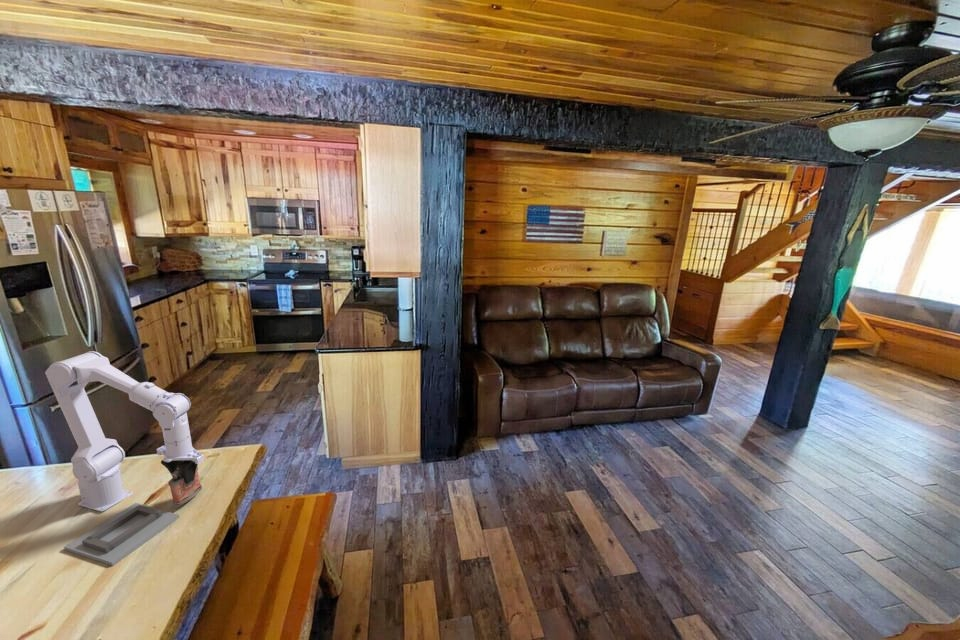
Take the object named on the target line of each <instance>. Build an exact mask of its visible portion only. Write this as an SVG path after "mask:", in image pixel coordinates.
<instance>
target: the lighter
mask: <svg viewBox="0 0 960 640" xmlns="http://www.w3.org/2000/svg"><path fill="white" fill-rule="evenodd" d="M171 477H172V478H171V479H169V481H168V486H169V487H170V492H171V497H172V505H173V506H174V507H180V506H182V505H184V504H185V503H187V502H188V501H190V500H191V499H192V498H194V497H195V496H196V495H197V494H198V493H200V491H201V490H202V489H203V486H202V484H201V480H200V475H199V467H198V466H197V468H196V472H195V478H194V480H193V481H191V482H190V483H188V484H186V483H185V481H184V478H183V475H182V473H181V471H180V470H179V468H177V469H176V471H175V472H173V473H172V475H171Z"/></svg>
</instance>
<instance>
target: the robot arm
mask: <svg viewBox="0 0 960 640" xmlns="http://www.w3.org/2000/svg"><path fill="white" fill-rule="evenodd" d="M44 374H45V375H46V378H47V381H48V383H49V385H50V387H51V389H52V392H53V394H54V396H55V398H56V401H57V403H58V405H59V407H60V409H61V412H62V414H63V416H64V418H65V420H66V423H67V425H68V427H69V429H70V431H71V433H72V436H73V438H74V440H75V443H76V444H77V446H78V447H77V450H76V451H75V452H74V454H73V455H72V457H71V459H70V462H71V463H72V474H73V476H74V477H75V479H77V480H78V482H77V487H78V490H79V491H78V492H79V495H80V498H81V501H80V502H78V506H80V507H84V508H87V509H90V510H95V511H97V512H105V511H106V510H108V509H110V508H111V507H113V506H115V505H116V504H118V503H120V502H121V501H124V500H125V499H127V498H128V497H131V495H133V494H134V492H133V491H130V490H127V489H125V488H124V483H123V479H122V478H123V477H122V474H121V473H122V471H121V470H120V468H121V467H122V466H123V465H122V462H123V461H124V460H125V458H126V451H124V449H123V447H121V446H120V445H119V444H118V441H117V439H113V438H107V437H106V436H105V434H104V432H103V429H102V427H101V425H100V422H99V420H98V418H97V415H96V412H95V411H94V408H93V406H92V403H91V401H90V399H89V396H88V394H87V392H86V390H85V387H86V386H87V385H88V383H92V382H100V383H102V384H104V385H107V386H110V387H112V388H114V389H117V390H119V391H122V392H124V393H126V394H128V399H129V400H130V401H131V402H133V403H134V404H138V406H141V407H143V408H145V409H147V410H149V411H151V412H152V416H153V417H154V419H155V420H157V421H158V426H159V427H160V428H161V432H162V435H163V441H164V445H161V446H160V447H158V448H156V455H157V456H163V457H164V458H163V459H161V461H160V464H161V465H162V466H164V467H165V468H166V469H167V470H168V472H169V473H170V475H171V476H172V473H173V472H175V471H176V469H177V468H179V470H180V471H181V473H182V475H183V478H184V481H185V483H186V484H188V483H190V482H191V481H193V480H194V478H195V472H196V468H197V466H198V465H199V464H202V462H205V455H204V454H203V453H201V452H199V451H198V449H195V448H194V447H193V444H192V436H191V431H190V425H189V419H188V413H187V412H188V411H189V410H190V409H191V406H192V402H191V400H190V398H189V397H188V396H186V395H185V394H184V393H181V392H177V393H175V392H168V391H167V390H165V389H162V387H159V386H157V385H155V383H153V382H148V381H143V382H139V381H137V380H136V379H134V378H132V376H129V375H127V374H126V373H124V372H123V371H121V370H120V369H118V368H117V367H116V366H113V365H112V364H111V363H110V360H109V358H108V357H106V356H104V355H102V354H101V352H97V351H95V350H93V351H92V350H89V351H87V352H84V353H83V354H82V353H81V354H78V355H75V356H73V357H70V358H67V359H64V360H61V361H55V362H53V363H52V364H51V365H49V367H48V368H47V369H46V370H45V372H44Z"/></svg>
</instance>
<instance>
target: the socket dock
mask: <svg viewBox="0 0 960 640" xmlns="http://www.w3.org/2000/svg"><path fill="white" fill-rule="evenodd" d="M179 518H180V514H179V513H178V514H177V513H174V512H170V511H166V510H163V509H160V508H155V507H151V506H148V505H145V504H141V503H137V502H134V503H133V504H131V505H130V506H128V507H126V508H124V509H123V510H121V511H120V512H118V513H116V514H115V515H113V516H111V517H110V518H108V519H107V520H105V521H103V522H102V523H100V524H99V525H97V526H95V527H93V528H92V529H91V530H89V531H87V532H86V533H83V534H82V535H80V536H79V537H77V538H76V539H75V540H73V541H71V542H70V543H68V544H66V545H65V546H63V549H64V551H67V552H70V553H72V554H76V555H78V556H81V557H85V558H87V559H91V560H93V561H96V562H99V563H103V564H105V565H107V566H112V567H114V566H115V565H116V564H118V563H119V562H121V560H123V559H125V558H126V557H128V556H129V555H130V554H132V553H133V552H135V551H136V550H138V549H139V548H140V547H141V546H143V545H144V544H146V543H147V542H149V540H151V539H152V538H154V537H155V536H157V535H158V534H160V533H161V532H162V531H164V530H165V529H166V528H168V527H169V526H170V525H172V524H173V523H174V522H175V521H176V520H179Z"/></svg>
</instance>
